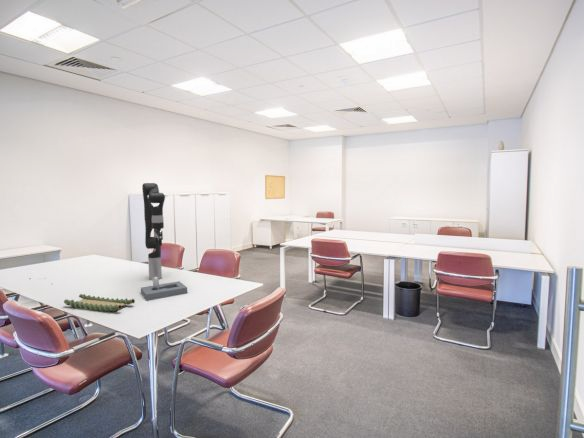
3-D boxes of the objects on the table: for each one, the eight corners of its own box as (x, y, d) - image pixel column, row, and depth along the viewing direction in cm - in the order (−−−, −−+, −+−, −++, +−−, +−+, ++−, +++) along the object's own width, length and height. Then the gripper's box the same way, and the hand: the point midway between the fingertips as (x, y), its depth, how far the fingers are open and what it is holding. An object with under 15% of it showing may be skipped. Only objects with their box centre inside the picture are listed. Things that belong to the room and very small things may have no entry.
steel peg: (150, 294, 221) (149, 276, 220) (160, 292, 224) (159, 275, 223) (152, 296, 216) (151, 279, 214) (162, 294, 219) (161, 277, 218)
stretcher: (136, 305, 199) (135, 298, 199) (118, 314, 186) (117, 306, 185) (83, 300, 210) (82, 292, 210) (62, 308, 196) (61, 300, 196)
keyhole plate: (140, 293, 223) (140, 287, 222) (179, 286, 238) (179, 281, 237) (146, 300, 208) (146, 294, 208) (187, 293, 223) (187, 287, 223)
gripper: (149, 221, 230) (150, 243, 232) (154, 222, 218) (155, 246, 220) (160, 220, 234) (161, 242, 236) (166, 222, 223) (166, 245, 224)
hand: (158, 244), depth 228 cm, fingers open, 8 cm apart
